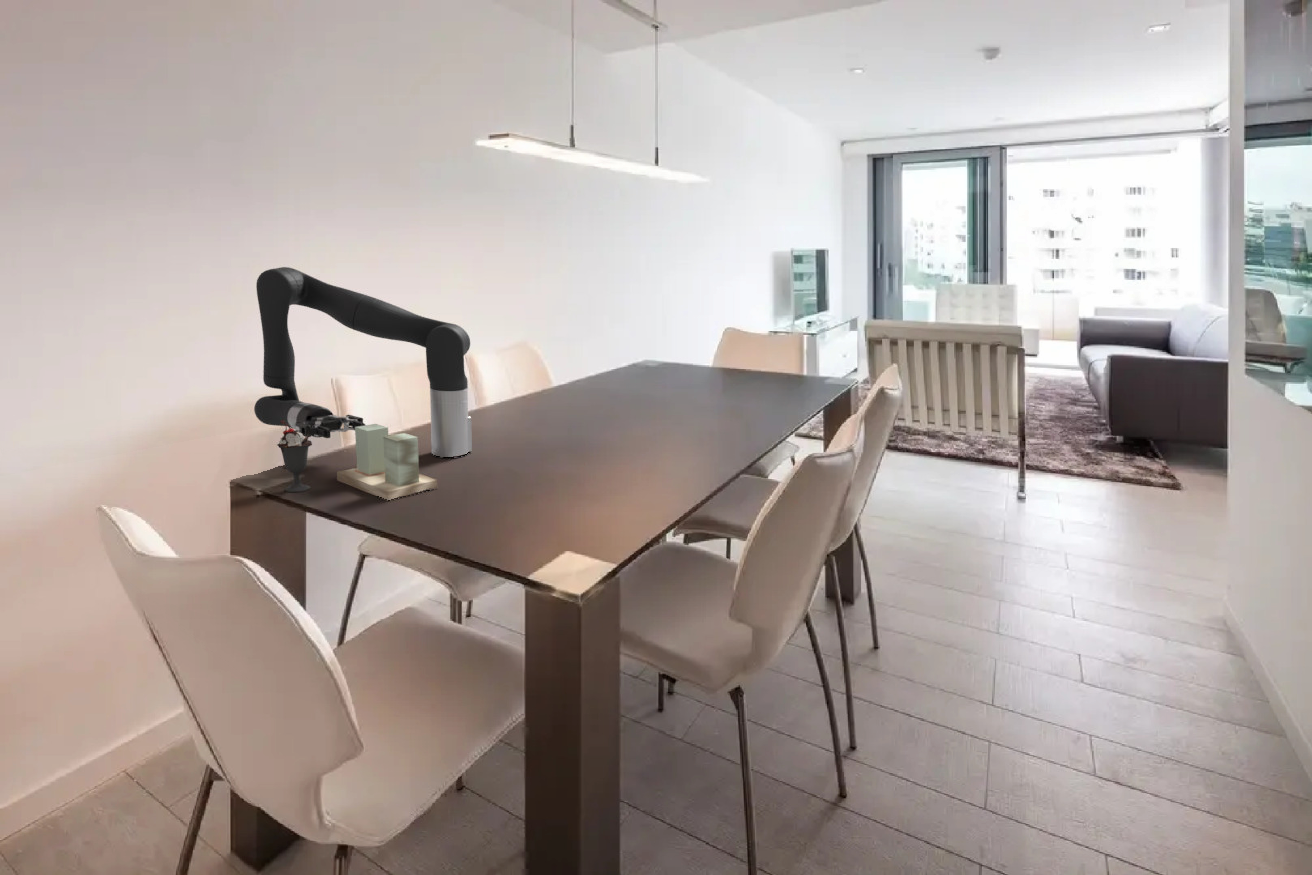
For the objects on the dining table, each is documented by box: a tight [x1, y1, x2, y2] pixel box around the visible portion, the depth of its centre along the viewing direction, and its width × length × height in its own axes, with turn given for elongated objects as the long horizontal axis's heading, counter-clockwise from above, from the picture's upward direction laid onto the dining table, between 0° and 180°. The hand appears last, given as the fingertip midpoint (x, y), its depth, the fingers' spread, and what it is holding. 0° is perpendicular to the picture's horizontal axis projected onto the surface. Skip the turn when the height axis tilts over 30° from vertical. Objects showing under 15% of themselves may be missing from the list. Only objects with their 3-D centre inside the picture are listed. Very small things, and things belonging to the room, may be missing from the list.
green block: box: [354, 423, 389, 475], centre depth 164 cm, size 5×5×10 cm
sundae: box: [276, 421, 313, 493], centre depth 155 cm, size 7×7×15 cm
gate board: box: [336, 432, 438, 501], centre depth 161 cm, size 12×20×12 cm, turn 52°
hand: (346, 430), depth 170 cm, fingers open, 8 cm apart
